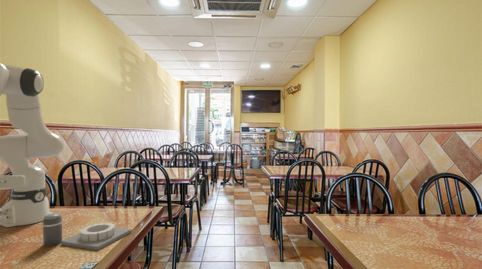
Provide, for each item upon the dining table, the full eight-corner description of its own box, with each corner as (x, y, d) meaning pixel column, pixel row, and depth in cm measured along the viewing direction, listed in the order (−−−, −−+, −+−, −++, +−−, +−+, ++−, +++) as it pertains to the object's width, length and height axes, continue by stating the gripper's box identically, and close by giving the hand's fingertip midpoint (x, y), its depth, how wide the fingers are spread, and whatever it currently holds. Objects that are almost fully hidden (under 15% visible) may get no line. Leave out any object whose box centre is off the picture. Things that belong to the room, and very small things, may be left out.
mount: (61, 244, 90) (61, 234, 90) (98, 228, 105) (98, 219, 105) (97, 250, 85) (97, 239, 85) (131, 232, 101) (131, 222, 100)
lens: (39, 245, 89) (38, 217, 89) (54, 239, 94) (54, 212, 94) (50, 247, 88) (50, 218, 87) (66, 241, 93) (65, 213, 93)
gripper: (-13, 169, 69) (45, 170, 81) (-42, 175, 78) (14, 175, 90) (-16, 193, 68) (44, 191, 80) (-45, 196, 77) (12, 193, 89)
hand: (28, 182), depth 85 cm, fingers open, 8 cm apart
